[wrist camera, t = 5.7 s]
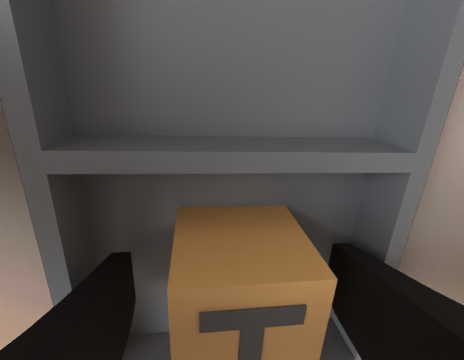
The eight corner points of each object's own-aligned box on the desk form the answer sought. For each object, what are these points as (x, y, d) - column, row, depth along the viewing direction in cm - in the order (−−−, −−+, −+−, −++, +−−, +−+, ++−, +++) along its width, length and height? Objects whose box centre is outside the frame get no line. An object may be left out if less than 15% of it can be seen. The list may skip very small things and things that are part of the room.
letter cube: (180, 294, 11) (173, 408, 7) (177, 207, 10) (167, 292, 6) (274, 288, 12) (313, 391, 8) (285, 205, 10) (338, 281, 6)
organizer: (120, 451, 15) (107, 517, 13) (-18, -289, 5) (-162, -539, 3) (311, 424, 16) (330, 479, 14) (460, -189, 7) (584, -312, 5)
